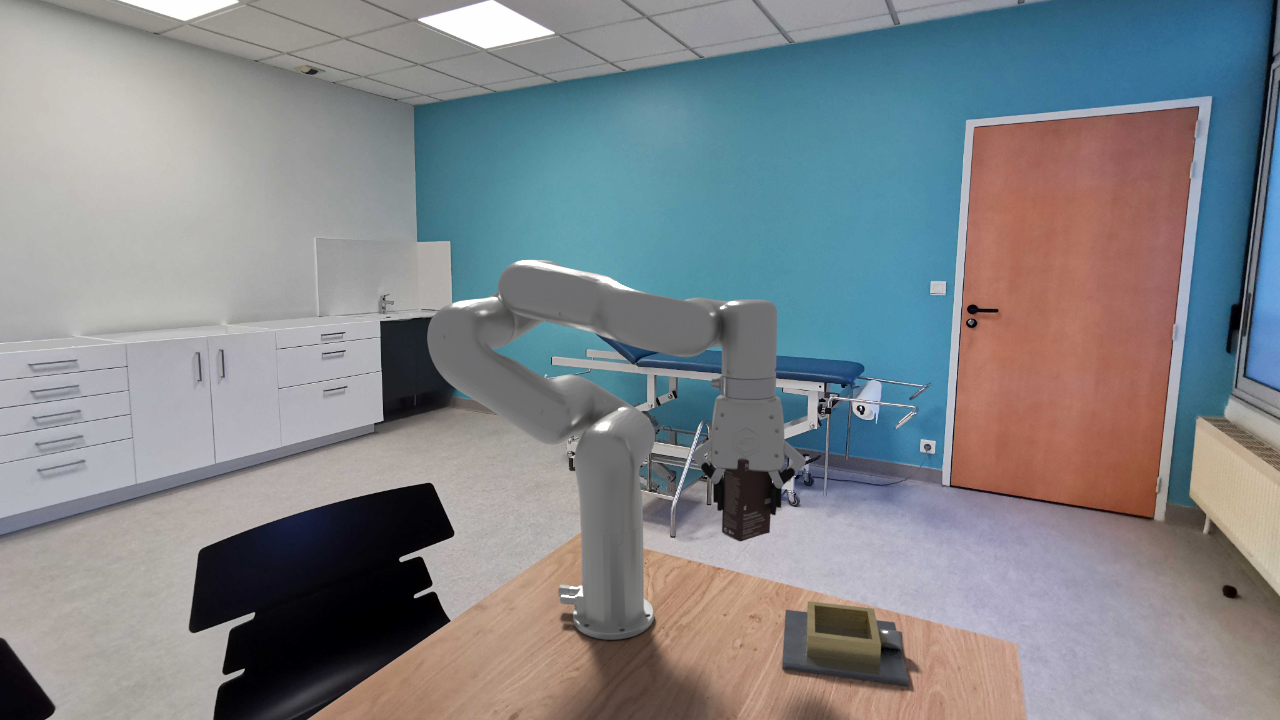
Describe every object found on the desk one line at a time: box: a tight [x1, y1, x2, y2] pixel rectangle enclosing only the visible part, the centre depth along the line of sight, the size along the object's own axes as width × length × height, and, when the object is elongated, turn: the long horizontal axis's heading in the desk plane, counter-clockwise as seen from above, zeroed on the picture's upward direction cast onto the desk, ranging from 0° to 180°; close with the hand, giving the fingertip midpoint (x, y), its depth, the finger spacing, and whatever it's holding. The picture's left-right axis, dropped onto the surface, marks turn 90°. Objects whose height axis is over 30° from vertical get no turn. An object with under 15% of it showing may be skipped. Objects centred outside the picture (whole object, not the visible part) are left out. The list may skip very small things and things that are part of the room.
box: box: [721, 459, 773, 542], centre depth 94 cm, size 6×4×12 cm
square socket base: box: [781, 600, 909, 687], centre depth 93 cm, size 16×14×4 cm
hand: (747, 508), depth 94 cm, fingers closed on box, 6 cm apart
